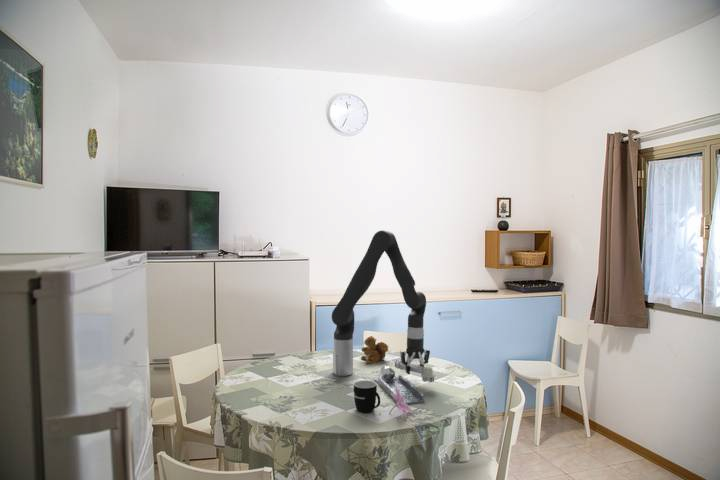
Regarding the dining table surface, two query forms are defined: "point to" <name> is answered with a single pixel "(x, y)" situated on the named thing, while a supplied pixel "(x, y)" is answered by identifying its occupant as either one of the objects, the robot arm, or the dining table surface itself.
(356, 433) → the dining table surface
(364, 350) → the stuffed squirrel
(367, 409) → the mug
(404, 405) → the lily
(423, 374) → the electric toothbrush
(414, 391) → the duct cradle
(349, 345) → the robot arm
